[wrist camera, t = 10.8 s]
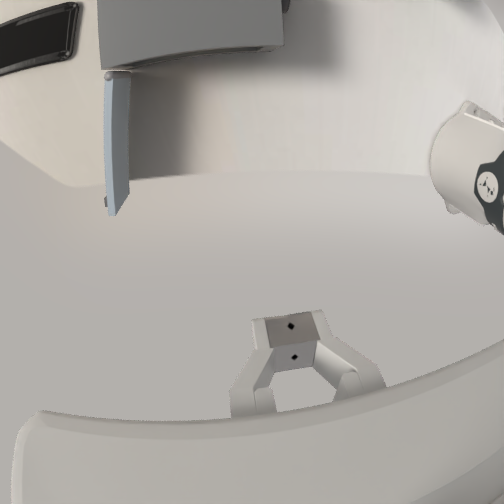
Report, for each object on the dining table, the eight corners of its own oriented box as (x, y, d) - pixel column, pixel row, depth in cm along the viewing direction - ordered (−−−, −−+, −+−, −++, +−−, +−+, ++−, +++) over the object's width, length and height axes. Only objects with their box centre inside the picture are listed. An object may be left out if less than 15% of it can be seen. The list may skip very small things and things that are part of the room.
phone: (69, 59, 22) (-17, 81, 20) (73, 59, 23) (-13, 80, 21) (77, -2, 18) (-12, 28, 16) (81, 0, 19) (-8, 29, 16)
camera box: (276, -22, 21) (291, -43, 15) (280, 51, 26) (297, 45, 21) (119, -3, 20) (97, -19, 14) (123, 69, 25) (101, 69, 19)
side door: (130, 193, 33) (116, 215, 28) (115, 193, 33) (100, 215, 28) (132, 70, 25) (114, 70, 20) (116, 71, 25) (95, 72, 20)
